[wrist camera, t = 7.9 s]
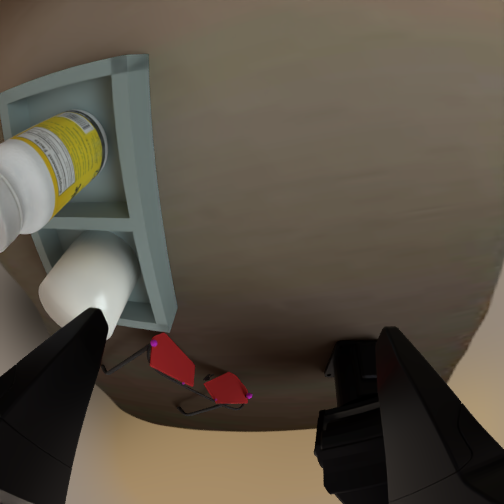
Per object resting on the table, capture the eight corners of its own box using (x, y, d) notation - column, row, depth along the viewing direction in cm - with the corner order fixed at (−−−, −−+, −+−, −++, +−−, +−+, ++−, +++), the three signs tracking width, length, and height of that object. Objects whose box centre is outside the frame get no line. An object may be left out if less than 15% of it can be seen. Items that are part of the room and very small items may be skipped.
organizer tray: (177, 307, 27) (169, 332, 24) (79, 294, 27) (67, 315, 25) (148, 53, 14) (126, 54, 12) (24, 85, 15) (-3, 94, 12)
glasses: (255, 378, 34) (252, 414, 30) (179, 406, 42) (173, 433, 38) (158, 319, 29) (144, 360, 25) (101, 363, 36) (89, 392, 32)
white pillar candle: (146, 292, 25) (123, 347, 20) (86, 285, 25) (58, 333, 20) (131, 229, 21) (96, 283, 16) (66, 227, 21) (26, 273, 16)
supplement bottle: (63, 185, 19) (-21, 266, 11) (43, 119, 16) (-60, 179, 8) (119, 173, 18) (33, 264, 10) (101, 98, 15) (-14, 151, 7)
